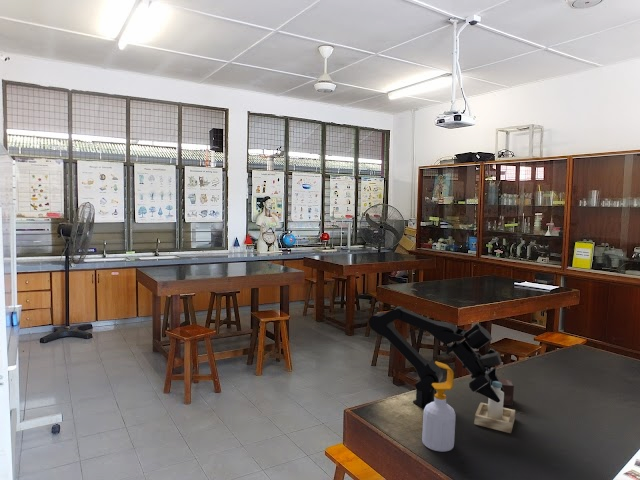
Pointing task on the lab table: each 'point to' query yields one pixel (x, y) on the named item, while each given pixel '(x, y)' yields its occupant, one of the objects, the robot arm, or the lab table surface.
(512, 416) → the oak tray
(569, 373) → the lab table surface
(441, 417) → the soap bottle
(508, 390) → the box
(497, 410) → the reagent bottle
